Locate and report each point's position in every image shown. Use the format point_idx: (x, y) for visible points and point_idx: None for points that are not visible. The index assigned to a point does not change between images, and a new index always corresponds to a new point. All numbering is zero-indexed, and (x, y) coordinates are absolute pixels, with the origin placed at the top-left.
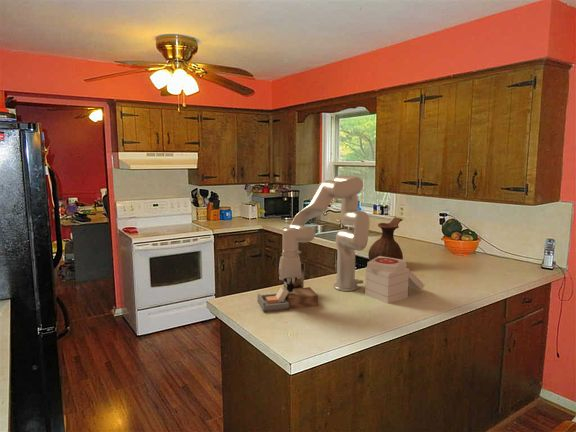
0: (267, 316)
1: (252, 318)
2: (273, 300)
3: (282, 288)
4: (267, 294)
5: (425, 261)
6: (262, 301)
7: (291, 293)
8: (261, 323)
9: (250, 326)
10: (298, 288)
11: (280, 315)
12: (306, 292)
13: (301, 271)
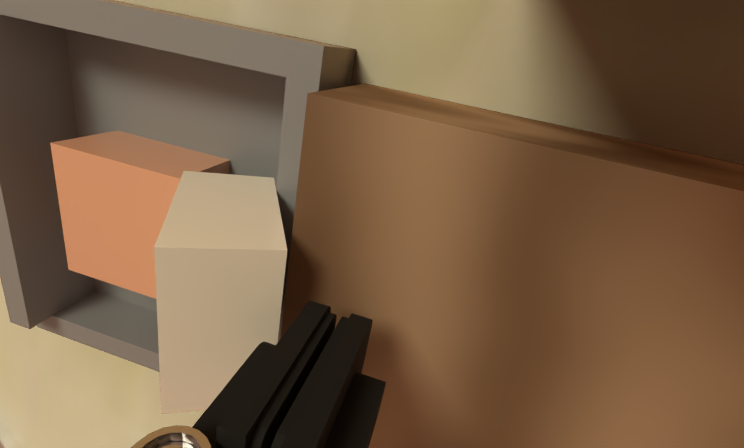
0: (112, 371)
1: (16, 339)
2: (132, 286)
3: (183, 305)
4: (102, 10)
5: None
6: (4, 285)
7: (369, 338)
8: (67, 426)
9: (8, 418)
10: (668, 193)
11: (203, 411)
12: (635, 444)
13: None
